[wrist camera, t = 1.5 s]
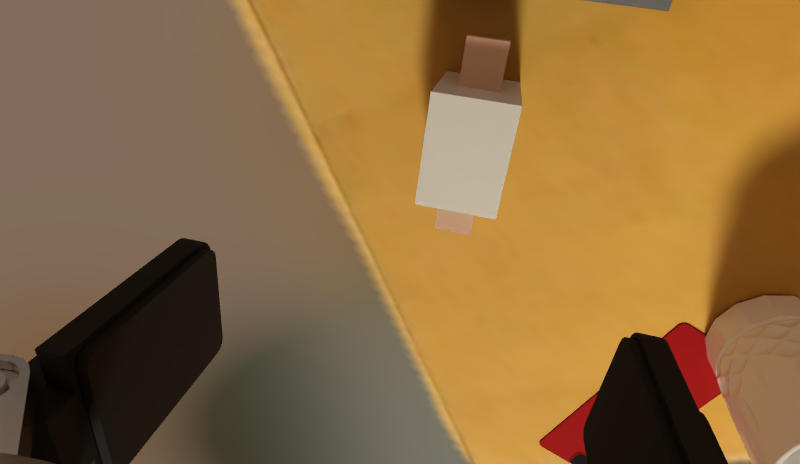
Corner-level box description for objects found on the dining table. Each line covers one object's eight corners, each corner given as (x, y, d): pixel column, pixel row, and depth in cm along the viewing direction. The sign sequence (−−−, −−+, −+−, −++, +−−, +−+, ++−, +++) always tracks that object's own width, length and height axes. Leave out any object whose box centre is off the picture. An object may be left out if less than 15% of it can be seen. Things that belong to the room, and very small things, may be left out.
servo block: (530, 37, 24) (535, 50, 19) (490, 210, 29) (486, 258, 24) (454, 26, 25) (438, 36, 20) (427, 198, 30) (409, 243, 24)
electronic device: (681, 316, 30) (536, 438, 37) (683, 322, 30) (536, 444, 37) (755, 362, 30) (597, 474, 38) (759, 368, 30) (598, 480, 37)
